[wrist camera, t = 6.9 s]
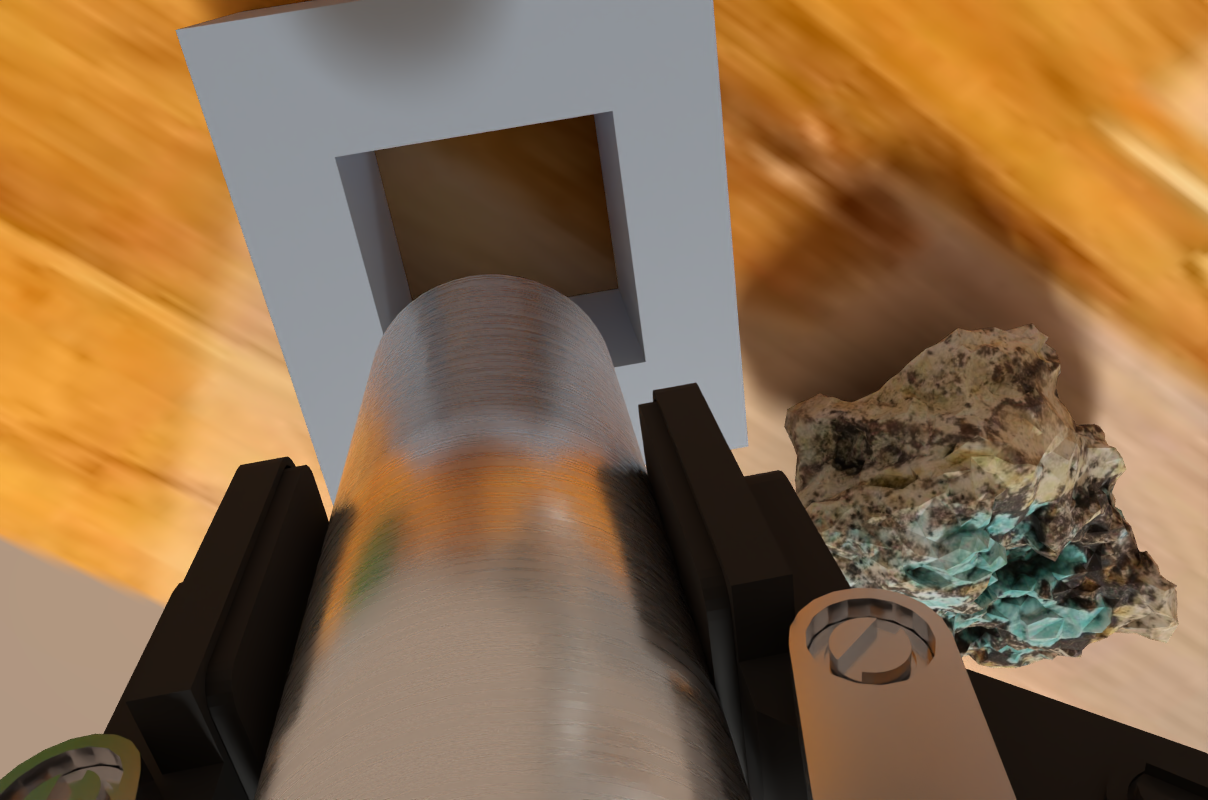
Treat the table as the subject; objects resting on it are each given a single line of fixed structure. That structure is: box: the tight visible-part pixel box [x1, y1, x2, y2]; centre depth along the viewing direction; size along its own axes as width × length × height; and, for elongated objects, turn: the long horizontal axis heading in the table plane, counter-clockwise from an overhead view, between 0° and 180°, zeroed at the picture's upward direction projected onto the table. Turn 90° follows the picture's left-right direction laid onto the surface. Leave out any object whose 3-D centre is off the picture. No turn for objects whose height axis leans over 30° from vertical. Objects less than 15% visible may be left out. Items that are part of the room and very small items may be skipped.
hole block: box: [176, 0, 748, 506], centre depth 22 cm, size 11×10×5 cm
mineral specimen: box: [785, 324, 1178, 668], centre depth 27 cm, size 12×9×8 cm
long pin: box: [254, 274, 751, 800], centre depth 10 cm, size 4×4×12 cm
